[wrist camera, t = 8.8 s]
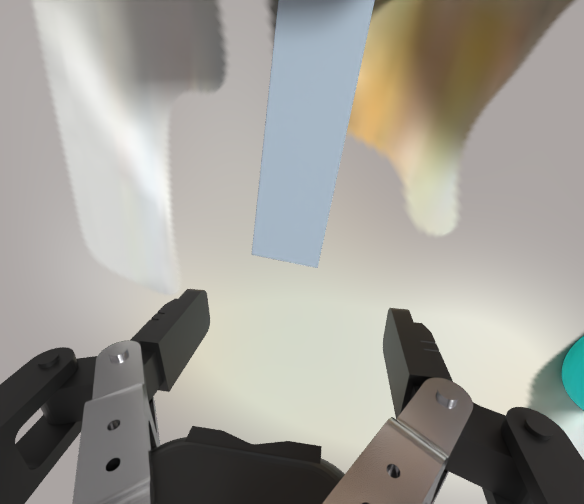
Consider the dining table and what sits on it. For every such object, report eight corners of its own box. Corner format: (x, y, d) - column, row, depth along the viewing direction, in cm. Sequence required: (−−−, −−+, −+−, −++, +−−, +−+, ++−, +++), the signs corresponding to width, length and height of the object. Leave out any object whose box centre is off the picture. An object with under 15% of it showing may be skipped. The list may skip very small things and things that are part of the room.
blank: (365, 29, 18) (376, -6, 13) (321, 240, 23) (317, 268, 19) (294, 19, 18) (280, -18, 13) (268, 230, 24) (251, 254, 19)
